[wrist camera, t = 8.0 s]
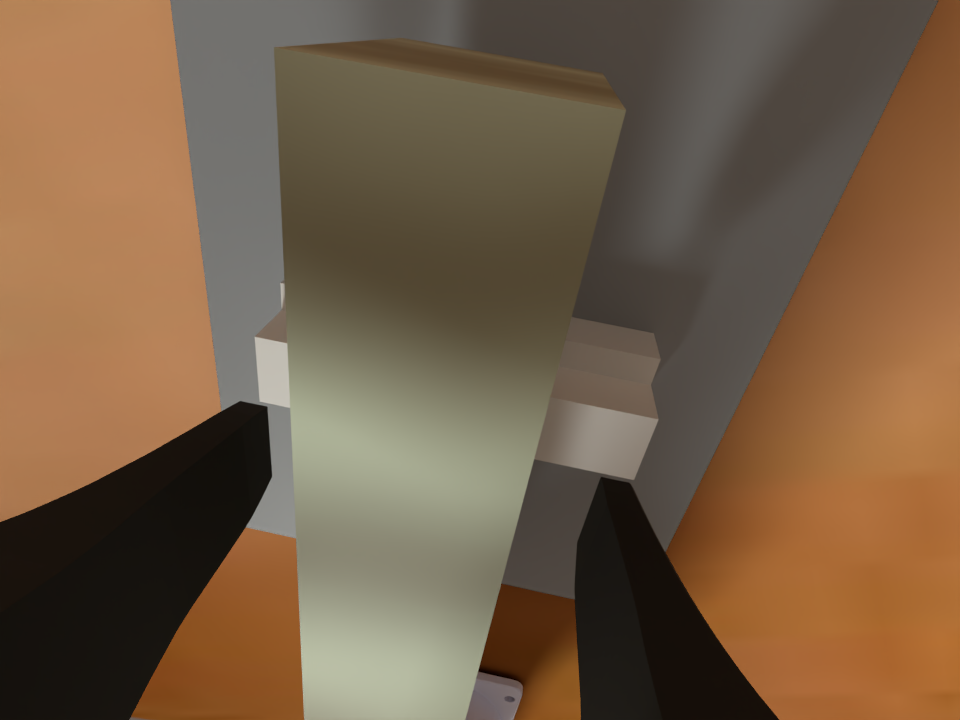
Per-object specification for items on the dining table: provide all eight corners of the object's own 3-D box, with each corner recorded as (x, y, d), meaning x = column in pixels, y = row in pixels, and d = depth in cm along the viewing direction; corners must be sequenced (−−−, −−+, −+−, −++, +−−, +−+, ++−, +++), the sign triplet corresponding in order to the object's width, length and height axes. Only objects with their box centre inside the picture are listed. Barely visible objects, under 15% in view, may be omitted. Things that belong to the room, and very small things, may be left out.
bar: (474, 616, 18) (444, 796, 14) (368, 592, 18) (306, 763, 14) (602, 73, 10) (626, 110, 5) (401, 37, 10) (273, 46, 6)
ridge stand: (633, 599, 22) (643, 689, 19) (243, 513, 23) (193, 587, 20) (921, 1, 11) (1045, -7, 8) (171, -126, 12) (39, -175, 9)
